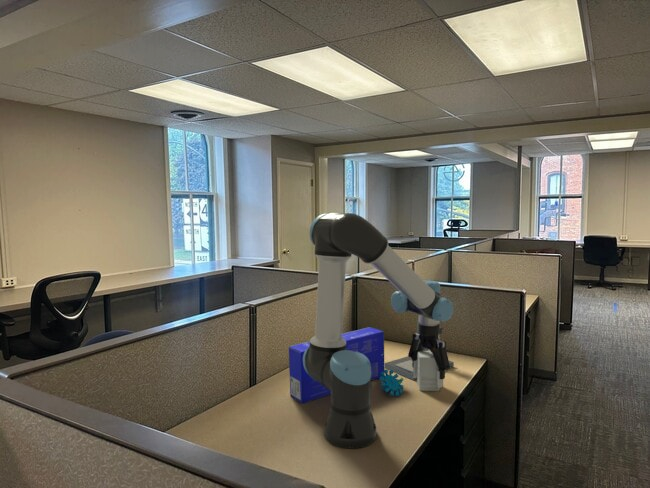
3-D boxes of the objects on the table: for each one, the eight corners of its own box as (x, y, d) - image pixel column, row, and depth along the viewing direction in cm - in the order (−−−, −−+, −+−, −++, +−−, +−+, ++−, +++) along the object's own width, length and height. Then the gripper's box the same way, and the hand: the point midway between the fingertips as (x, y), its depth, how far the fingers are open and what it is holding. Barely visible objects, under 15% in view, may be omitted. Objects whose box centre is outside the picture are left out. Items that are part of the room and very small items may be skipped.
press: (413, 380, 164) (414, 334, 162) (384, 367, 177) (385, 325, 175) (453, 366, 178) (454, 324, 176) (424, 355, 190) (424, 316, 189)
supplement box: (436, 383, 161) (437, 350, 160) (439, 391, 154) (440, 357, 153) (416, 382, 162) (417, 350, 161) (418, 390, 155) (419, 356, 154)
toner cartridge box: (370, 370, 174) (370, 326, 172) (384, 377, 167) (385, 331, 165) (288, 395, 151) (287, 345, 150) (301, 404, 144) (300, 351, 143)
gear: (389, 396, 146) (377, 369, 152) (379, 404, 150) (368, 377, 155) (411, 392, 153) (398, 367, 158) (401, 400, 156) (389, 374, 162)
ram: (437, 348, 176) (437, 329, 175) (427, 345, 180) (427, 327, 179) (444, 346, 179) (445, 327, 178) (435, 343, 183) (435, 325, 182)
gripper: (461, 328, 149) (460, 390, 151) (412, 315, 167) (411, 369, 169) (447, 332, 144) (446, 395, 146) (398, 318, 163) (398, 374, 165)
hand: (427, 381), depth 158 cm, fingers open, 10 cm apart
